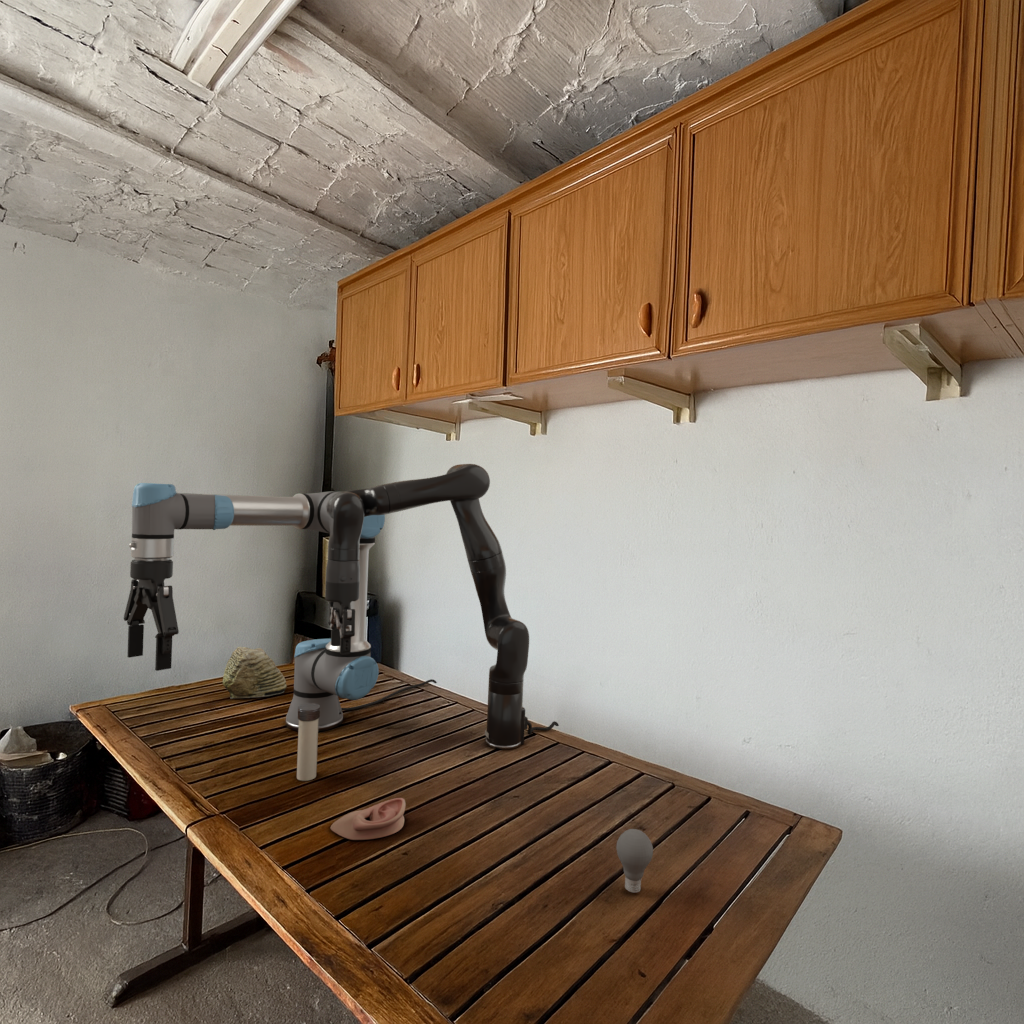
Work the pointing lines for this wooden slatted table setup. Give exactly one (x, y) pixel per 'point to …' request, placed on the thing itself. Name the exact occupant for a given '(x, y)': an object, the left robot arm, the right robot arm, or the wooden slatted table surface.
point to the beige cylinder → (307, 750)
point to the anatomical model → (372, 821)
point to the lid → (308, 712)
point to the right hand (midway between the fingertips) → (340, 649)
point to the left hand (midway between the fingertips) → (148, 662)
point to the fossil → (252, 674)
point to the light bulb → (634, 857)
